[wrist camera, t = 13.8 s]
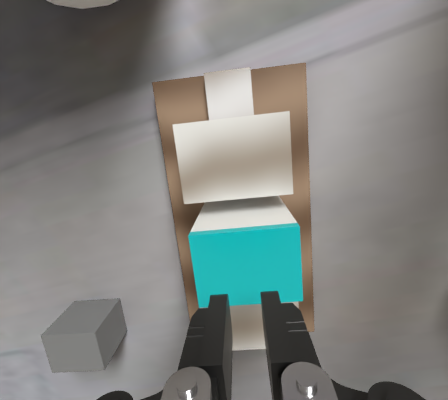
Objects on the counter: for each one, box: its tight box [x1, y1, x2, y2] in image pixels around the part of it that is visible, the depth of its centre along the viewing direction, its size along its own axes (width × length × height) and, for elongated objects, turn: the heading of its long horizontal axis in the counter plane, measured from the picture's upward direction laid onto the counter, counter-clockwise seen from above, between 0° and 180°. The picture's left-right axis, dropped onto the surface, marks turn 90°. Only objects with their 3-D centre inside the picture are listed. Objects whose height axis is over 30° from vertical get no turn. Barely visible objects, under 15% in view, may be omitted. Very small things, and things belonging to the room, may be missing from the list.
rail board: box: [152, 63, 314, 351], centre depth 21 cm, size 24×12×7 cm, turn 6°
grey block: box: [41, 298, 127, 373], centre depth 26 cm, size 4×5×5 cm
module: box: [188, 195, 303, 308], centre depth 18 cm, size 4×6×8 cm
